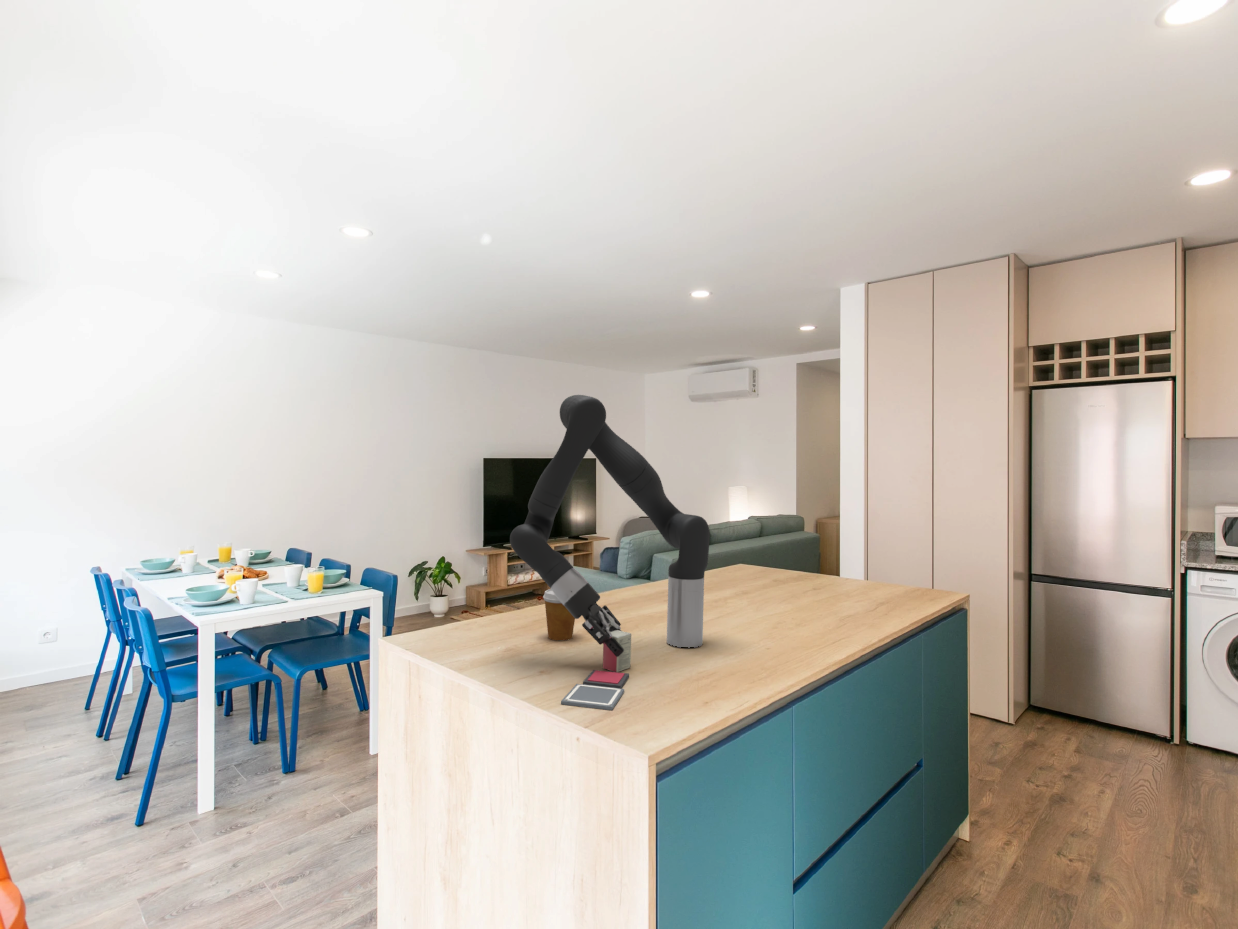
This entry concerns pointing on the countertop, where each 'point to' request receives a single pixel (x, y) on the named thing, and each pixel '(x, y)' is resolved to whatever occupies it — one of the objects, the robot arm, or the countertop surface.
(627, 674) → the ink pad
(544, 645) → the countertop surface
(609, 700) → the board
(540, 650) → the countertop surface
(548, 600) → the disposable coffee cup
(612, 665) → the small box
